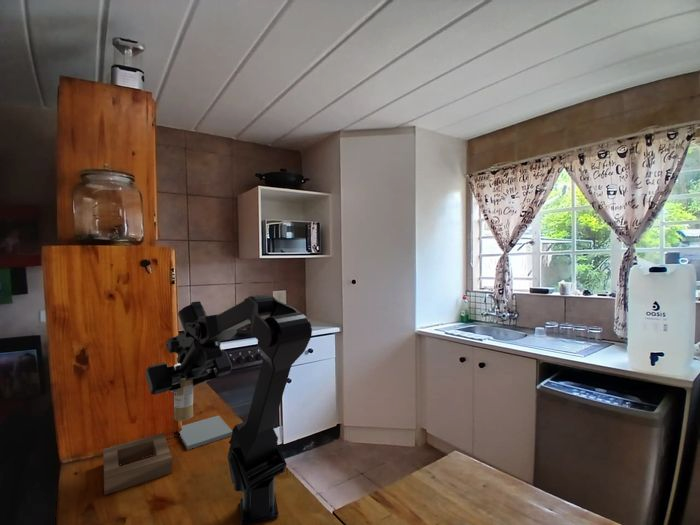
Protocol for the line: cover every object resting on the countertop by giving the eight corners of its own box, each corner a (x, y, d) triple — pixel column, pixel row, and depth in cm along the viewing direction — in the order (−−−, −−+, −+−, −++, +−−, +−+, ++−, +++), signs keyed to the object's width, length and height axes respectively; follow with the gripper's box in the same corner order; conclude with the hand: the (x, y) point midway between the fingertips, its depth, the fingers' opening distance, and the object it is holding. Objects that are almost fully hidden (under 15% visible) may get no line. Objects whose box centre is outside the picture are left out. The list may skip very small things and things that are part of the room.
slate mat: (232, 435, 91) (232, 431, 91) (187, 450, 84) (187, 446, 84) (218, 418, 99) (218, 415, 99) (176, 431, 93) (176, 427, 93)
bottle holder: (172, 472, 76) (172, 457, 75) (104, 495, 69) (104, 477, 68) (163, 446, 85) (163, 432, 85) (103, 464, 78) (103, 448, 78)
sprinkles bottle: (169, 418, 87) (169, 365, 86) (187, 411, 91) (186, 360, 90) (180, 423, 84) (179, 368, 84) (197, 416, 88) (197, 363, 88)
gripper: (226, 319, 91) (206, 352, 99) (146, 331, 77) (131, 369, 85) (242, 355, 86) (220, 388, 94) (160, 375, 72) (143, 411, 80)
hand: (181, 387), depth 88 cm, fingers closed on sprinkles bottle, 4 cm apart
